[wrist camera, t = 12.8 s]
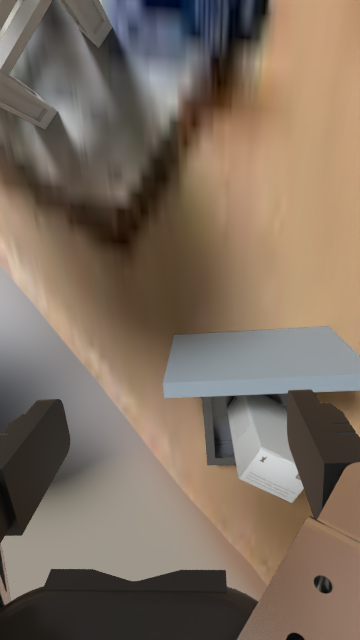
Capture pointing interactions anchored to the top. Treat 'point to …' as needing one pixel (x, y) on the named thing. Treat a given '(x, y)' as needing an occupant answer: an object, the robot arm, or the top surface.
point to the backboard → (260, 363)
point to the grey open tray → (223, 428)
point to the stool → (5, 53)
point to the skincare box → (263, 445)
